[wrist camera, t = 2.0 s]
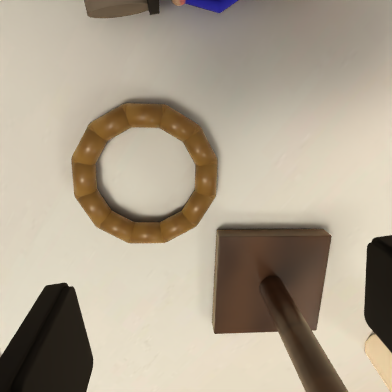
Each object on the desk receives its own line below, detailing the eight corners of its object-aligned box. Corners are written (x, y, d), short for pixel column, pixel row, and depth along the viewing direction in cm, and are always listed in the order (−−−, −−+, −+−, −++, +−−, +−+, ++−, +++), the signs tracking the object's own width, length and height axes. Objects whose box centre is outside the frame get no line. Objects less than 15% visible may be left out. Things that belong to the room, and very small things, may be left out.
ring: (81, 238, 26) (76, 247, 25) (70, 101, 23) (63, 102, 22) (212, 237, 27) (215, 245, 26) (218, 105, 24) (221, 106, 23)
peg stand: (211, 322, 30) (245, 498, 17) (216, 229, 27) (260, 354, 14) (309, 319, 31) (412, 485, 18) (323, 228, 28) (456, 346, 15)
